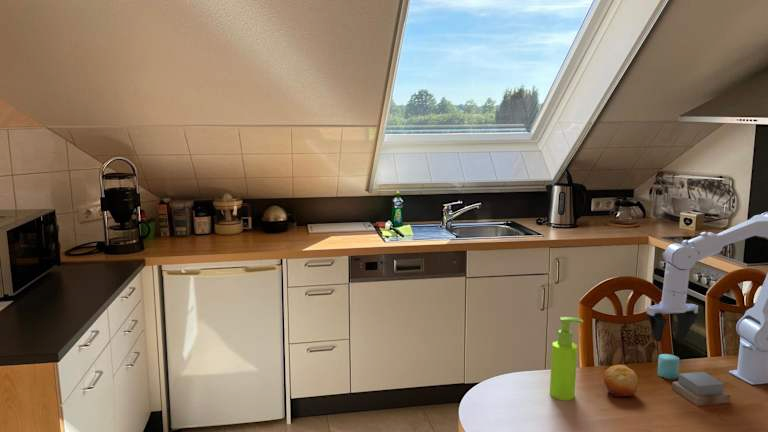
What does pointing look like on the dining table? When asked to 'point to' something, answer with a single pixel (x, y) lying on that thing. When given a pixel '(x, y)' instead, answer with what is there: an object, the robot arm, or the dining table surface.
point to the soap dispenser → (564, 362)
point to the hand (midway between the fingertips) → (668, 339)
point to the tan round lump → (621, 380)
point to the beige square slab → (700, 399)
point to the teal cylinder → (668, 366)
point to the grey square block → (701, 383)
